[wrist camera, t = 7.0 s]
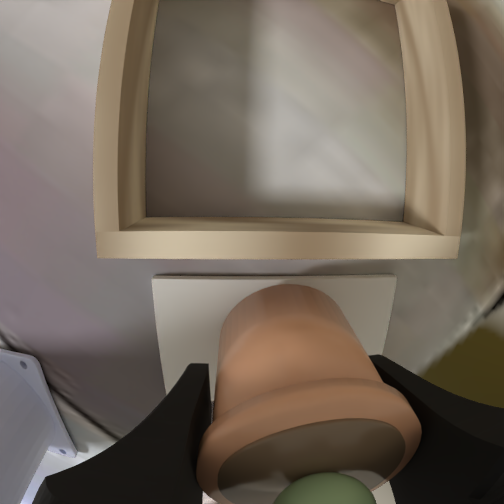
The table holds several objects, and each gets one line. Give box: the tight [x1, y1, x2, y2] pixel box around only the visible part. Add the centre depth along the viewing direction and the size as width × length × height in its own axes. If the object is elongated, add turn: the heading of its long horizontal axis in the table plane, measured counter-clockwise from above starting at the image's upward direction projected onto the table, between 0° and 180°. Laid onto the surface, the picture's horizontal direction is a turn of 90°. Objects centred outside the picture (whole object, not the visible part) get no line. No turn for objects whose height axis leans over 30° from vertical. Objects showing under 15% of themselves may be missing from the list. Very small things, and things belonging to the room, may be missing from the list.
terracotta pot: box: [196, 284, 422, 504], centre depth 8 cm, size 6×6×8 cm
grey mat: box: [152, 274, 397, 401], centre depth 13 cm, size 10×6×1 cm, turn 89°
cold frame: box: [93, 0, 466, 259], centre depth 9 cm, size 12×12×3 cm
